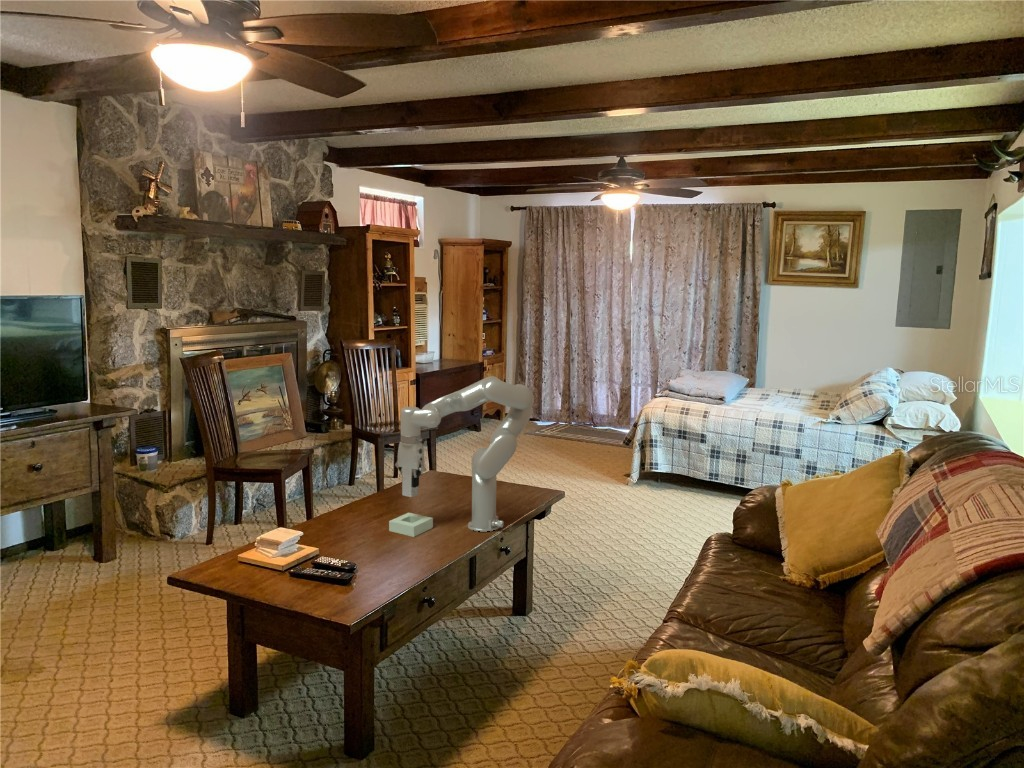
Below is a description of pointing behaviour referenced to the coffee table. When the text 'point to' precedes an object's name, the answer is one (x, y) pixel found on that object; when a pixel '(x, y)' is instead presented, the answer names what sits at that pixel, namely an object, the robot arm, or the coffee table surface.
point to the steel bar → (408, 483)
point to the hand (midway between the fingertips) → (410, 485)
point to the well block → (411, 524)
